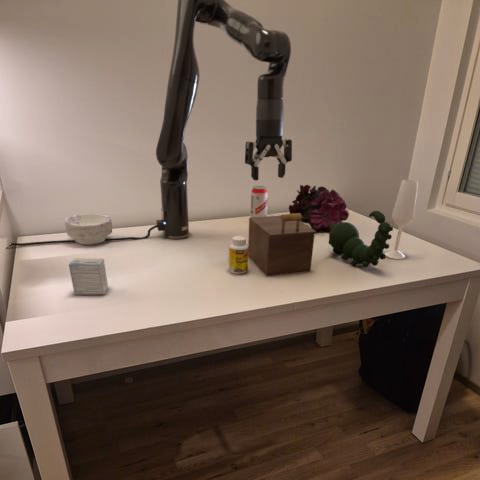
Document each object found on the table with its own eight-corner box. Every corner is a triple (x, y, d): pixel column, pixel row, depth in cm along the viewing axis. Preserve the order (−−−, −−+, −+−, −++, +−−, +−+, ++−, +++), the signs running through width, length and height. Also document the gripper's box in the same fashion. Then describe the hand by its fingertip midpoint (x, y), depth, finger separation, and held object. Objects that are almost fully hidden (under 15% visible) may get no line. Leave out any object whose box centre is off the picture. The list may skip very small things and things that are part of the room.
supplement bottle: (234, 275, 122) (234, 241, 118) (226, 269, 127) (226, 236, 122) (250, 272, 125) (252, 239, 120) (242, 266, 129) (243, 234, 124)
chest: (310, 271, 127) (314, 233, 121) (266, 276, 123) (268, 236, 117) (287, 252, 141) (290, 217, 136) (248, 255, 137) (249, 220, 132)
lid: (316, 234, 120) (318, 214, 117) (270, 237, 116) (271, 217, 114) (290, 217, 136) (291, 199, 133) (249, 220, 132) (249, 202, 129)
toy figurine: (387, 275, 129) (336, 244, 147) (404, 216, 119) (347, 190, 137) (364, 280, 125) (314, 248, 143) (380, 219, 115) (324, 193, 133)
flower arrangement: (280, 215, 183) (283, 179, 176) (320, 211, 190) (323, 177, 182) (317, 235, 158) (322, 195, 151) (361, 231, 164) (367, 192, 157)
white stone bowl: (116, 245, 144) (113, 222, 140) (69, 250, 139) (65, 226, 135) (111, 232, 156) (108, 211, 153) (67, 236, 151) (63, 214, 148)
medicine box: (108, 288, 113) (104, 257, 109) (104, 295, 109) (99, 264, 105) (79, 288, 113) (73, 257, 109) (74, 295, 109) (68, 264, 105)
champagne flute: (387, 250, 145) (401, 178, 133) (407, 254, 142) (423, 180, 130) (382, 256, 140) (396, 181, 128) (402, 260, 137) (419, 184, 125)
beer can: (247, 228, 165) (248, 186, 157) (261, 226, 167) (263, 185, 160) (254, 232, 160) (255, 189, 152) (268, 230, 162) (271, 188, 155)
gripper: (284, 116, 121) (282, 174, 129) (240, 117, 116) (240, 178, 123) (298, 117, 115) (295, 178, 123) (253, 119, 110) (252, 183, 117)
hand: (268, 178), depth 123 cm, fingers open, 8 cm apart
